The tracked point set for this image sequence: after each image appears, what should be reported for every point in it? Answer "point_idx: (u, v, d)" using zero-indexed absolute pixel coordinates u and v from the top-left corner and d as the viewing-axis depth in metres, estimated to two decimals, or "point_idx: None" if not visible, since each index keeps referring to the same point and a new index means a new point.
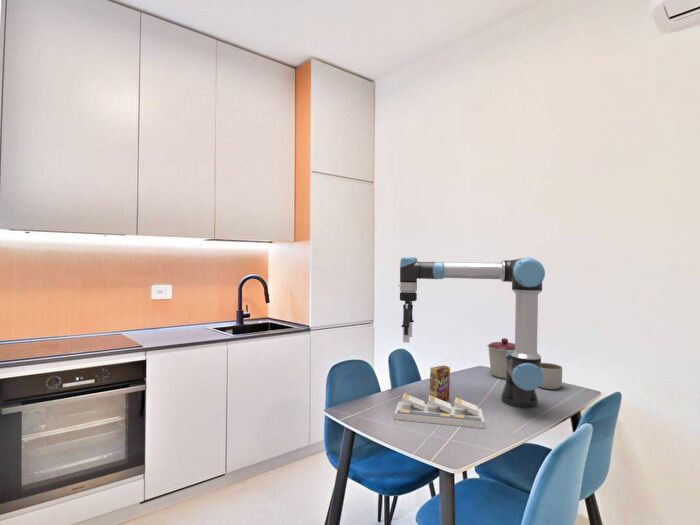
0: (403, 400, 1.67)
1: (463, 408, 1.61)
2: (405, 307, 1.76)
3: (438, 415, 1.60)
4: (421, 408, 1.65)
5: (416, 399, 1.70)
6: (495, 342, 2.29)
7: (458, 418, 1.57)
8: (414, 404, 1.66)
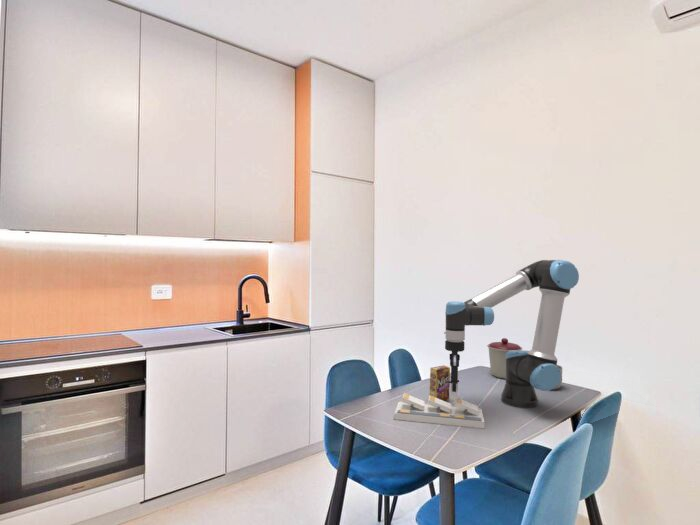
0: (403, 400, 1.67)
1: (463, 408, 1.61)
2: (453, 365, 1.60)
3: (438, 415, 1.60)
4: (421, 408, 1.65)
5: (416, 399, 1.70)
6: (495, 342, 2.29)
7: (458, 418, 1.57)
8: (414, 404, 1.66)
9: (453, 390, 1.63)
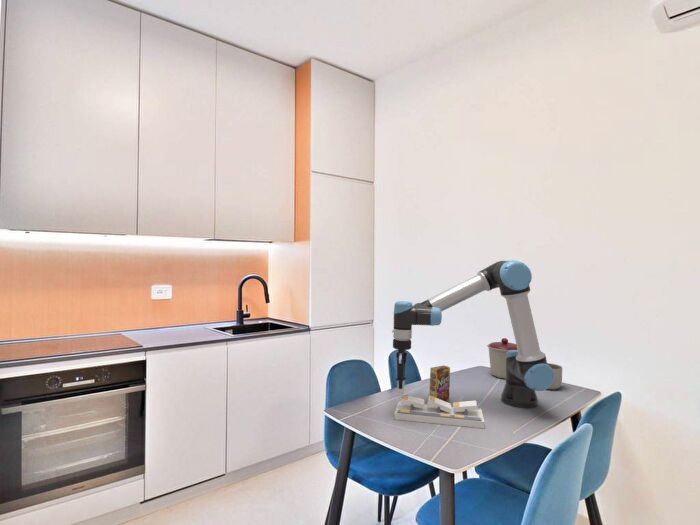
0: (402, 401, 1.67)
1: (463, 409, 1.61)
2: (398, 362, 1.65)
3: (438, 415, 1.60)
4: (421, 406, 1.65)
5: (416, 398, 1.70)
6: (495, 342, 2.30)
7: (458, 418, 1.57)
8: (414, 404, 1.66)
9: (399, 387, 1.68)
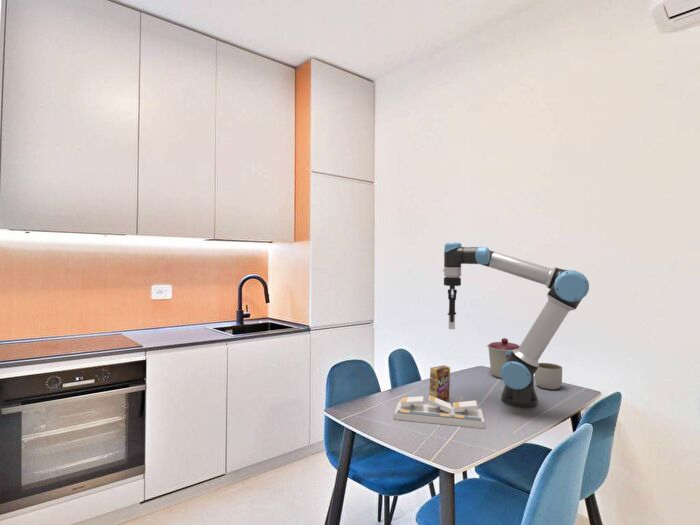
0: (402, 404, 1.67)
1: (463, 409, 1.61)
2: (451, 296, 1.80)
3: (438, 415, 1.60)
4: (421, 404, 1.65)
5: (414, 398, 1.70)
6: (495, 342, 2.29)
7: (458, 418, 1.57)
8: (413, 403, 1.66)
9: (451, 320, 1.84)
